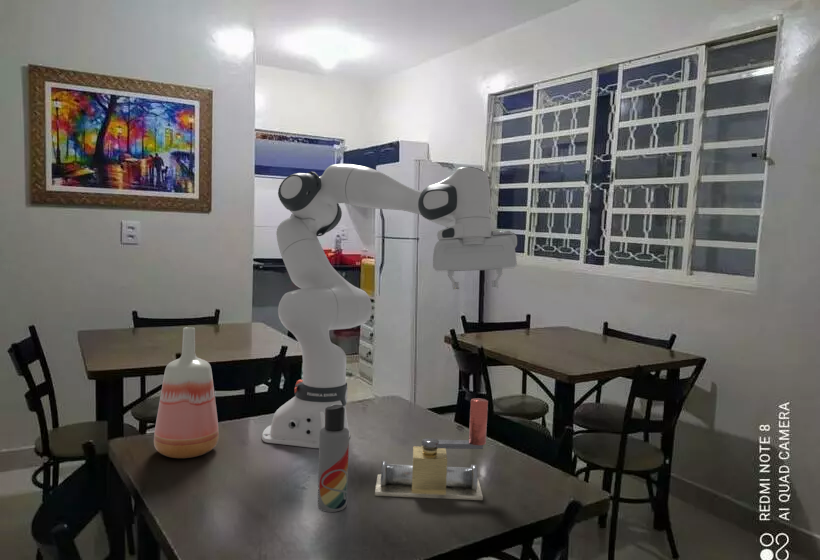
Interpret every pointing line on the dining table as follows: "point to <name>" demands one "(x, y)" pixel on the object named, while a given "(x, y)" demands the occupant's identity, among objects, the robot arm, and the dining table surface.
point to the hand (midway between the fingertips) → (475, 288)
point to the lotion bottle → (333, 461)
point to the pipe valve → (428, 478)
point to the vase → (187, 405)
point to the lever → (475, 430)
